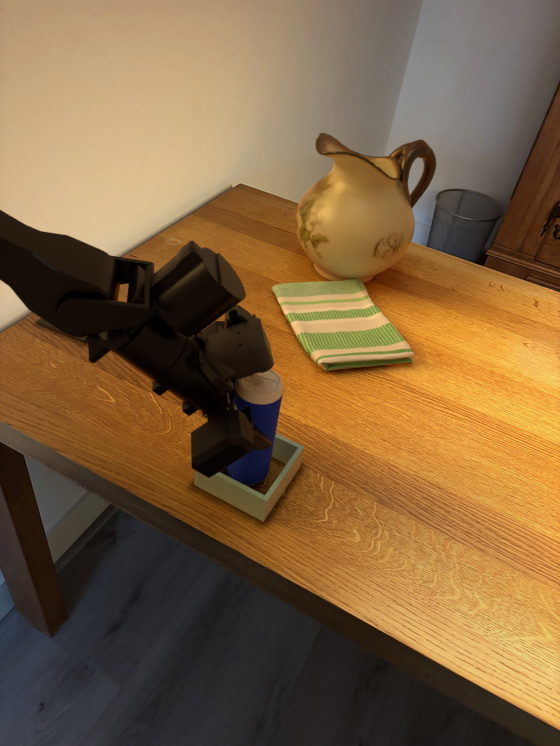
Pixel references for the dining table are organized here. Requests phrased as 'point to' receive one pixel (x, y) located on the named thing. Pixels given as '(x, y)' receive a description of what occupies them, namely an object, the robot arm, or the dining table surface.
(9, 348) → the dining table surface
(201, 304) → the robot arm
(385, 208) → the pitcher
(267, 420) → the beverage can
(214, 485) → the tray
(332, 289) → the dish towel
